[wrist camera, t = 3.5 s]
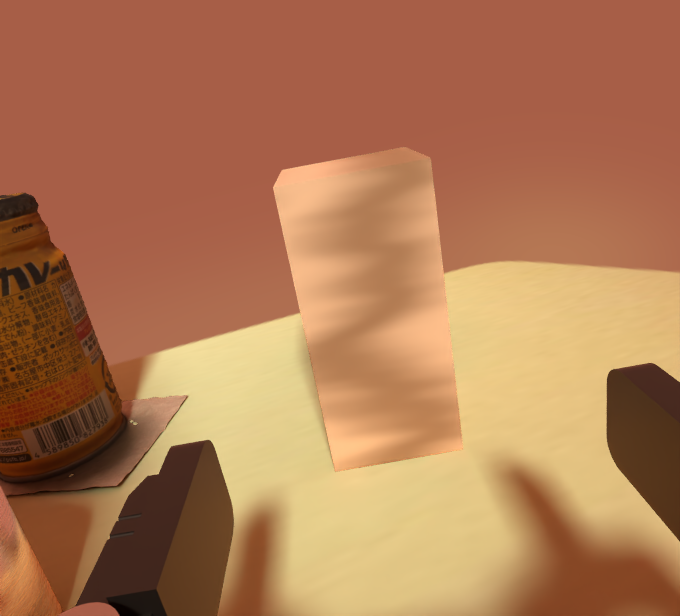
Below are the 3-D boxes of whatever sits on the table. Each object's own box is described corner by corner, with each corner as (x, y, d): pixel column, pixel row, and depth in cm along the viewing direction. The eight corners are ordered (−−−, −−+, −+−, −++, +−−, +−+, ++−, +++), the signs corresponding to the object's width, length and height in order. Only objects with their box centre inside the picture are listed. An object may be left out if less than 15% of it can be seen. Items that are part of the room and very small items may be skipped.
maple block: (335, 471, 21) (272, 187, 17) (331, 404, 25) (282, 169, 21) (463, 449, 20) (430, 158, 17) (435, 385, 25) (405, 146, 21)
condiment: (50, 410, 30) (-41, 200, 26) (188, 398, 29) (116, 172, 24) (-54, 502, 23) (-199, 239, 19) (119, 492, 22) (3, 203, 18)
